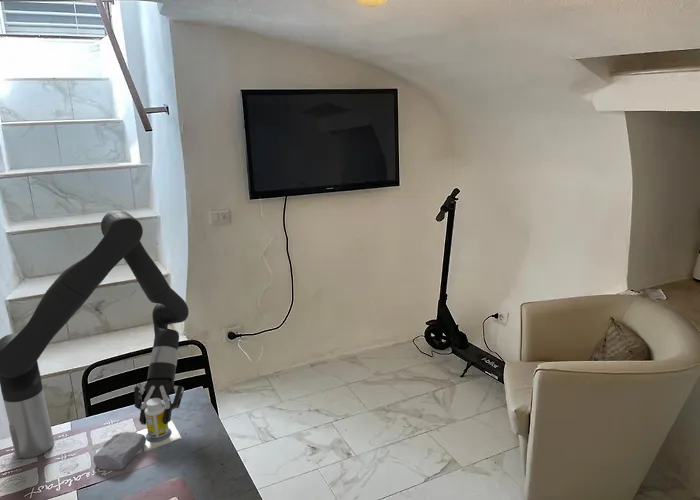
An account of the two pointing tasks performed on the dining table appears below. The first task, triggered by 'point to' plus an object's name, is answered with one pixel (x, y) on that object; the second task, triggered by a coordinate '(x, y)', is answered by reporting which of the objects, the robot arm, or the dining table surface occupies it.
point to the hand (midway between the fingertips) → (154, 423)
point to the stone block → (119, 451)
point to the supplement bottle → (155, 418)
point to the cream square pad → (156, 442)
